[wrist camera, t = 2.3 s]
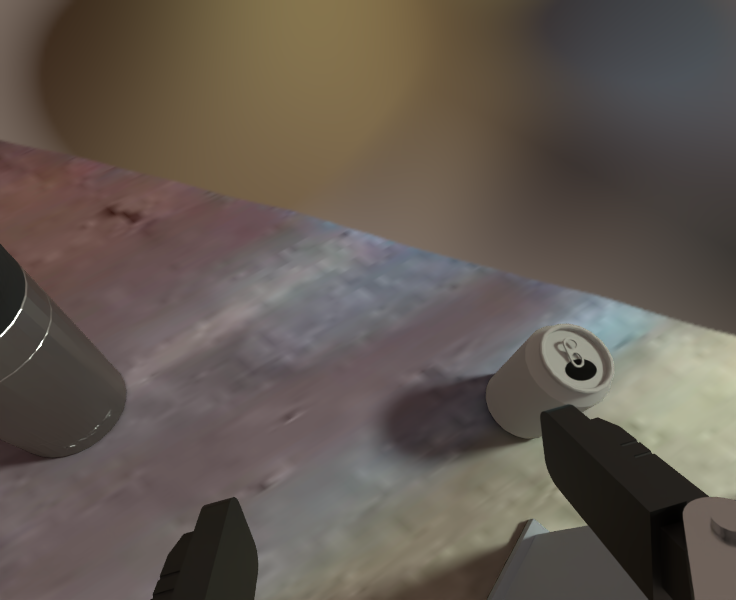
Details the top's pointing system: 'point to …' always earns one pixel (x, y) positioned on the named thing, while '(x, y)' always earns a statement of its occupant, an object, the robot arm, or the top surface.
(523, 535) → the stand
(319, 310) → the top surface
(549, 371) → the can
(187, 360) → the top surface
